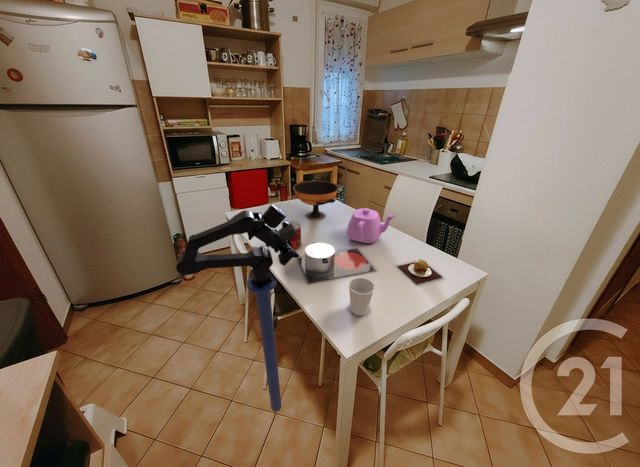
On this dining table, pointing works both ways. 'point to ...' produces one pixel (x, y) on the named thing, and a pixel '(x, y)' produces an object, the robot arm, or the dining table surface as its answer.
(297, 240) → the canned food
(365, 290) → the dixie cup
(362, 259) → the hob
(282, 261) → the robot arm
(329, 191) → the orange pedestal bowl
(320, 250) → the pot
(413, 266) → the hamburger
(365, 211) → the teapot
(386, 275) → the dining table surface
